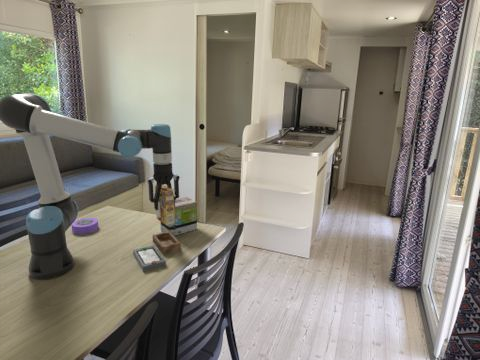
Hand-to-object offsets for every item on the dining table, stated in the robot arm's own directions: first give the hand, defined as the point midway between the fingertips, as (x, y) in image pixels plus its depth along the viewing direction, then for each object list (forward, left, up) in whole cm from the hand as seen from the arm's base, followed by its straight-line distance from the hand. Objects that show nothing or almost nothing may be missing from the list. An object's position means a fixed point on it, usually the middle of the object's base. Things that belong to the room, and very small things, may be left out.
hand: (165, 215), depth 143 cm
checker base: (-10, -8, -15) cm, 20 cm away
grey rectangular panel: (-10, -8, -14) cm, 19 cm away
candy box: (0, 0, -3) cm, 3 cm away
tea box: (+11, +13, -15) cm, 23 cm away
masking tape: (-29, +36, -15) cm, 48 cm away
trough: (0, 0, -15) cm, 15 cm away
